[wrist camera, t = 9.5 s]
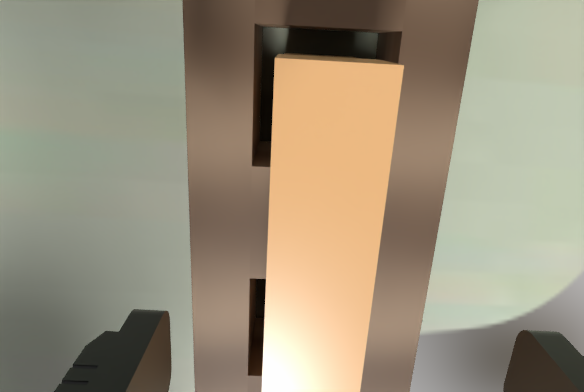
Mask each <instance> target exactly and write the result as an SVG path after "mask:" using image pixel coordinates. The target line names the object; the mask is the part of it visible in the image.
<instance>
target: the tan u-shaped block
mask: <svg viewBox="0 0 584 392" xmlns="http://www.w3.org/2000/svg"><path fill="white" fill-rule="evenodd" d="M403 70H404V65H401V64H396V63H392V62H388V61H384V60H377V59H360V58H357V57H350V56H333V55H315V54H298V53H284V54H278V55H277V56H276V57H275V65H274V90H273V116H272V141H271V166H270V192H269V217H268V243H267V268H266V294H265V319H264V344H263V370H262V392H360V388H361V381H362V374H363V366H364V359H365V351H366V344H367V337H368V329H369V322H370V314H371V307H372V300H373V292H374V285H375V277H376V270H377V263H378V255H379V248H380V240H381V233H382V226H383V218H384V211H385V203H386V196H387V189H388V181H389V174H390V166H391V159H392V152H393V144H394V137H395V129H396V122H397V115H398V107H399V100H400V93H401V85H402V78H403Z"/></svg>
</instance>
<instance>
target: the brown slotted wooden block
mask: <svg viewBox="0 0 584 392" xmlns="http://www.w3.org/2000/svg"><path fill="white" fill-rule="evenodd" d="M478 1H479V0H183V26H184V58H185V89H186V121H187V152H188V183H189V215H190V246H191V278H192V309H193V341H194V372H195V392H262V370H263V344H264V319H265V318H255V317H256V279H266V268H267V243H268V217H269V192H270V166H271V142H269V141H260V119H261V79H262V39H263V27H276V28H295V29H314V30H333V31H352V32H371V33H379V34H378V43H377V52H376V59H377V60H384V61H388V62H392V63H396V64H401V65H404V70H403V78H402V85H401V93H400V100H399V107H398V115H397V122H396V129H395V137H394V144H393V152H392V159H391V166H390V174H389V181H388V189H387V196H386V203H385V211H384V218H383V226H382V233H381V240H380V248H379V255H378V263H377V270H376V277H375V285H374V292H373V300H372V307H371V314H370V322H369V329H368V337H367V344H366V351H365V359H364V366H363V374H362V381H361V388H360V392H409V391H410V385H411V380H412V374H413V368H414V363H415V357H416V352H417V346H418V340H419V335H420V329H421V323H422V318H423V312H424V306H425V301H426V295H427V289H428V284H429V278H430V272H431V267H432V261H433V255H434V250H435V244H436V239H437V233H438V227H439V222H440V216H441V210H442V205H443V199H444V193H445V188H446V182H447V176H448V171H449V165H450V159H451V154H452V148H453V142H454V137H455V131H456V125H457V120H458V114H459V108H460V103H461V97H462V91H463V86H464V80H465V75H466V69H467V63H468V58H469V52H470V46H471V41H472V35H473V29H474V24H475V18H476V12H477V7H478Z"/></svg>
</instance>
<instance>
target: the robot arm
mask: <svg viewBox="0 0 584 392" xmlns="http://www.w3.org/2000/svg"><path fill="white" fill-rule="evenodd" d="M170 379H171V341H170V317H169V313H168V311H158V310H139V309H134V310H132V312H131V313H130V315H129V316H128V318H127V319H126V321H125V323H124V324H123V326H122V328H121V329H120V331H119V332H113V331H105V332H104V333H103V334H101V335H100V336H99V337H97V338H96V339H95V340H93V341H92V342H90V343H89V344H88V345H86V346H85V348H84V349H83V351H82V352H81V354H80V355H79V356H78V358H77V359H76V361H75V362H74V364H73V367H72V368H70V369H69V371H68V372H67V374H66V375H65V377H64V378H63V380H62V384H59V385H58V387H57V388H56V390H55V391H54V392H168V390H169V386H170ZM504 392H584V356H582V355H581V354H580V353H579V352H578V351H577V350H576V349H575V348H574V347H573V345H572V344H571V343H570V342H569V341H568V340H567V339H566V338H565V337H564V336H563V335H562V334H560V333H559V332H549V331H530V330H529V331H528V330H523V331H521V332H520V333H519V334H518V336H517V338H516V341H515V345H514V349H513V352H512V356H511V360H510V364H509V368H508V371H507V375H506V379H505V383H504Z"/></svg>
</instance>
